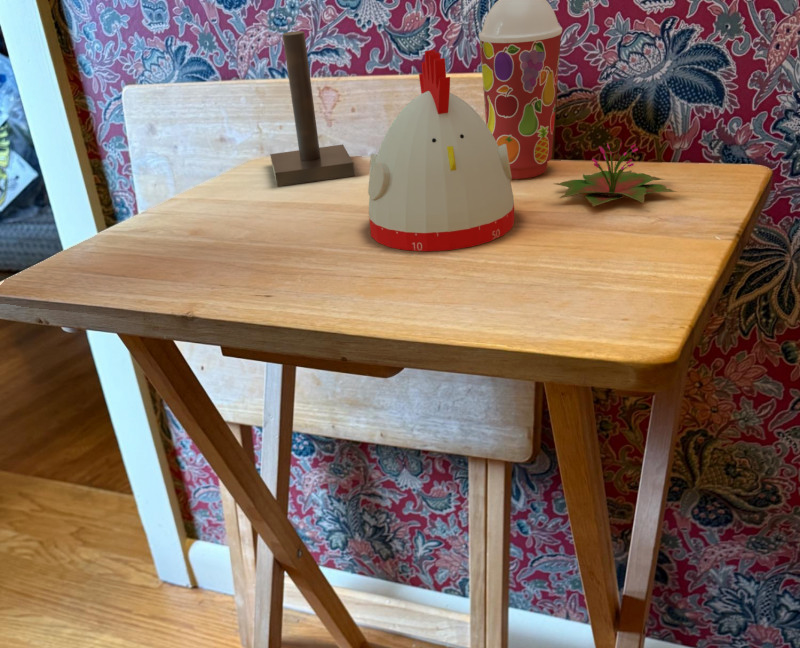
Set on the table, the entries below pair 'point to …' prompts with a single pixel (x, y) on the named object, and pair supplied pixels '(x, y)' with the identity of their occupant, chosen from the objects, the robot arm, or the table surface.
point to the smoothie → (521, 81)
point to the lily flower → (613, 182)
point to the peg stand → (306, 127)
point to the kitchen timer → (439, 173)
